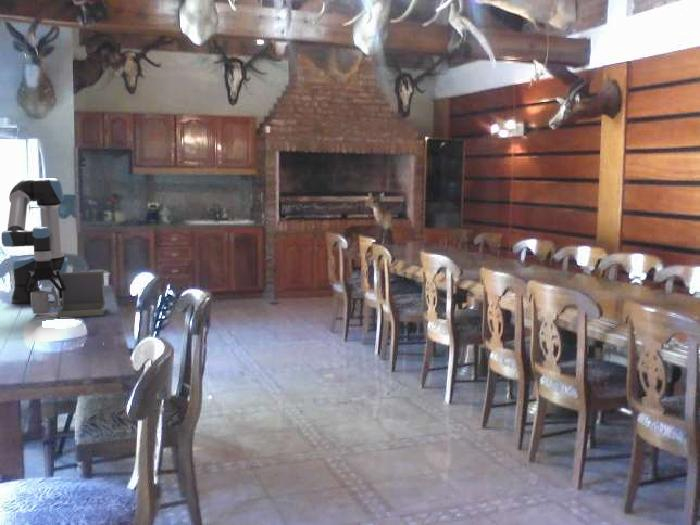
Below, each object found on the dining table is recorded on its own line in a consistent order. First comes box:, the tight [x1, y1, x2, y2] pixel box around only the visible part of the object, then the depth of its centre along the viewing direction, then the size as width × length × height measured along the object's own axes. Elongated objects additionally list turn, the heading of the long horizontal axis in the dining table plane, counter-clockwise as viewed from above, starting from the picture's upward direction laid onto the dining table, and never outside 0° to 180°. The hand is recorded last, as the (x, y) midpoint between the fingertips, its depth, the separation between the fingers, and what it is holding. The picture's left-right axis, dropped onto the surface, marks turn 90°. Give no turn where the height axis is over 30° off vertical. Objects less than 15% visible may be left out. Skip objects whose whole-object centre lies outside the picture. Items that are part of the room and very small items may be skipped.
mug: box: [31, 285, 59, 315], centre depth 351 cm, size 8×12×12 cm, turn 119°
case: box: [57, 270, 106, 318], centre depth 356 cm, size 19×20×19 cm
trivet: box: [33, 311, 58, 319], centre depth 352 cm, size 10×10×1 cm
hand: (45, 306), depth 351 cm, fingers closed on mug, 11 cm apart
